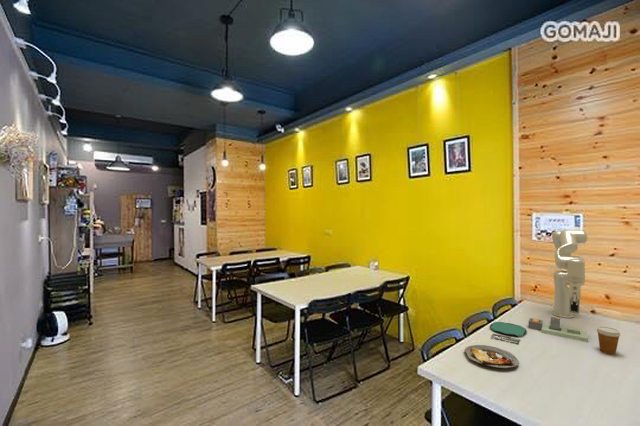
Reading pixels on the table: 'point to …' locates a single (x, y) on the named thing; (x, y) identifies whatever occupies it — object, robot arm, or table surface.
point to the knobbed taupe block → (570, 306)
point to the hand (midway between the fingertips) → (574, 309)
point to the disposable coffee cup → (608, 339)
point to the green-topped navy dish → (508, 330)
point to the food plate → (491, 356)
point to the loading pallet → (563, 332)
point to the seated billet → (555, 323)
